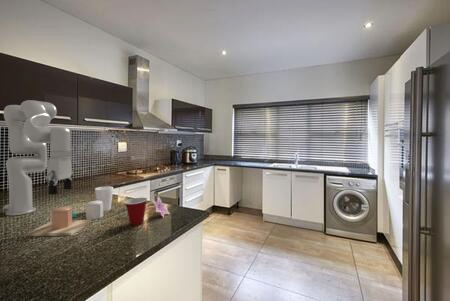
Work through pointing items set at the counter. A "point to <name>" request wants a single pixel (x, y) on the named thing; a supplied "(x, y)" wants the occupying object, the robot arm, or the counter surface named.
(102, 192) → the foam cup
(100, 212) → the white domed cap nut
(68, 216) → the pink acorn nut
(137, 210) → the plastic cup
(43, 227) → the oak board
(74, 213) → the marble
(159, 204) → the lily
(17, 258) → the counter surface
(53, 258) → the counter surface
